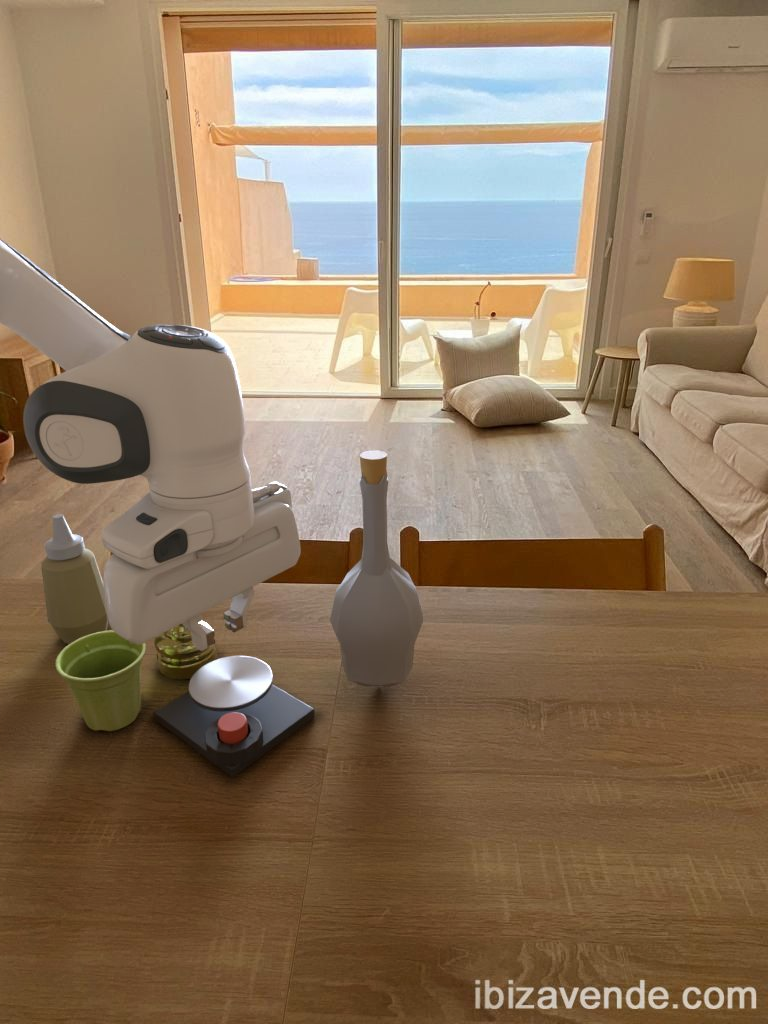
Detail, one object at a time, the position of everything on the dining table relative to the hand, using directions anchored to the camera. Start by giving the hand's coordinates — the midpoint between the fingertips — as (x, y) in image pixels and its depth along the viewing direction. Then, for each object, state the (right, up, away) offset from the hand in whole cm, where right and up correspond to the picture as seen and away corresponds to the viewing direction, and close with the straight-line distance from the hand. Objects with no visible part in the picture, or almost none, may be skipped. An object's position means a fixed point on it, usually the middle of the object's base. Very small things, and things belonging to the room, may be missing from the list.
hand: (220, 636), depth 69 cm
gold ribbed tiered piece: (-9, -7, +21) cm, 24 cm away
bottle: (+15, -9, +17) cm, 24 cm away
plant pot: (-15, -11, +12) cm, 23 cm away
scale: (-1, -11, +11) cm, 16 cm away
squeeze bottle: (-25, -5, +28) cm, 38 cm away
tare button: (0, -11, +5) cm, 12 cm away
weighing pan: (-2, -8, +12) cm, 15 cm away
